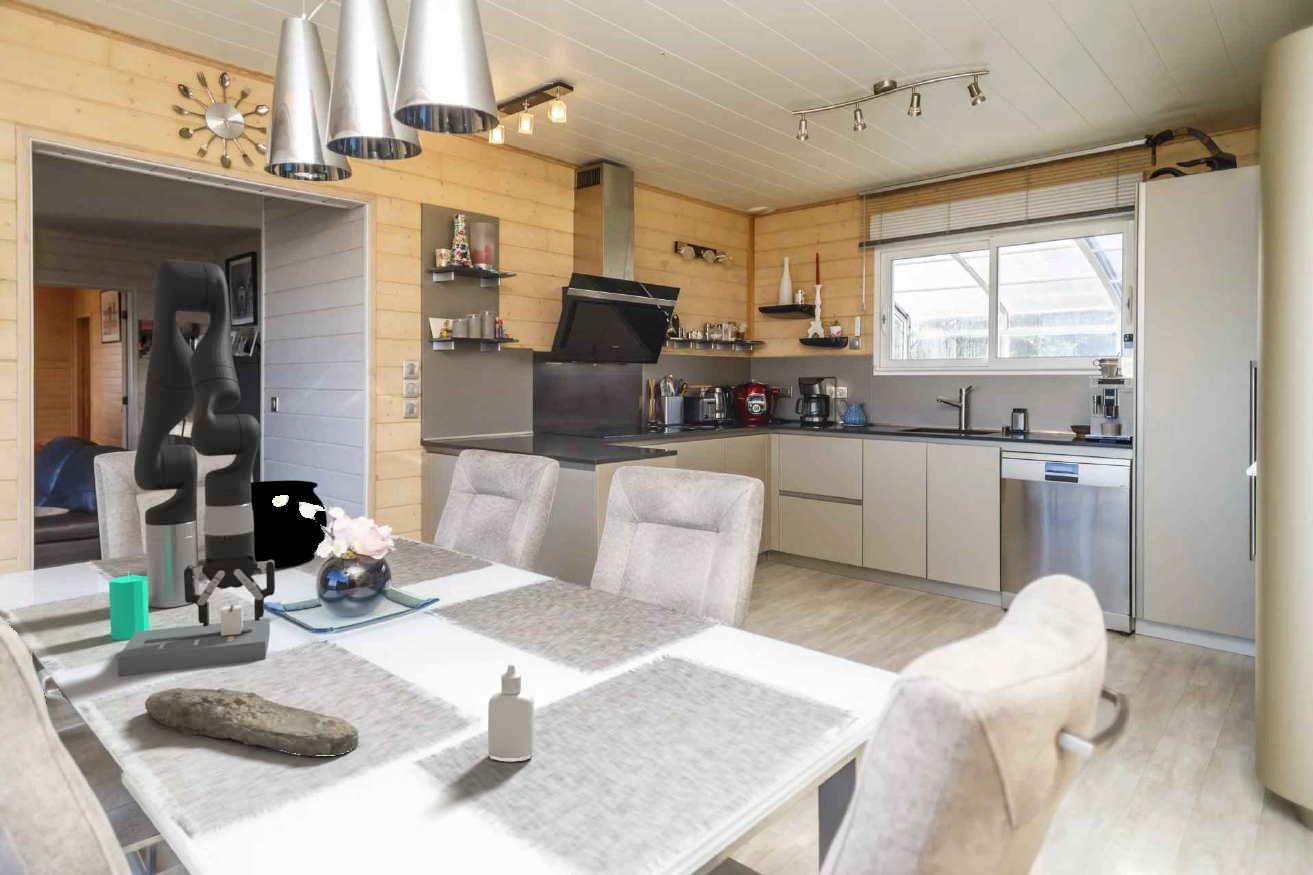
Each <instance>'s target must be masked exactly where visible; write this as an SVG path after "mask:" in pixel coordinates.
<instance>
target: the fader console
mask: <svg viewBox="0 0 1313 875" xmlns="http://www.w3.org/2000/svg"><path fill="white" fill-rule="evenodd" d="M270 628H271V627H270V617H268V618H260V620H259V621H255V619H248V620H243V628H242V632H241V634H233V635H224V636H221V622H218V623H209V625H208V626H203V624H198V625H197V624H196V625H187V626H186V625H185V626H178V627H177V626H176V627H168V628H167V627H166V628H158V629H149V630H146V631H136V632H135V633H134V635H133V636H132V638H131V639H129V641H128V642H127V643H126V645H125V647H124V648H123V650H122V651H121V652H120V653H119V655H118V656H117V673H118V674H117V676H118V677H121V676H122V677H123V676H129V675H130V676H131V675H137V674H145V673H146V674H148V673H155V672H156V673H157V672H164V671H172V670H181V669H190V668H191V669H192V668H199V667H205V666H207V667H208V666H215V665H217V666H218V665H224V664H231V663H241V662H247V661H249V662H250V661H257V660H266V659H267V651H268V646H269V642H270V635H271V633H270Z"/></svg>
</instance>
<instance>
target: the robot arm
mask: <svg viewBox="0 0 1313 875" xmlns="http://www.w3.org/2000/svg"><path fill="white" fill-rule="evenodd" d="M154 277H155V278H154V288H153V290H154V293H153V294H154V295H153V320H152V321H153V324H152V337H151V345H150V352H149V359H148V365H147V371H146V380H145V388H144V389H145V391H144V406H143V407H144V408H143V415H142V416H143V417H142V418H143V419H142V424H141V430H140V434H139V437H138V438H139V439H138V443H137V447H136V454H135V458H134V467H133V470H134V471H133V474H134V475H133V476H134V480H135V483H136V485H137V487H138V488H139V489H141V490H142V491H148V492H149V491H151V492H152V491H166V490H169V491H170V490H176V491H175V493H174V494H173V496H171V497H170V498H168V499H166V500H165V501H163V502H161V503H159V504H157V505H154V506H151V507H149V508H148V509H147V510H146V511H145V513H144V519H145V520H144V524H145V544H146V545H145V547H146V548H145V549H146V550H145V552H146V571H147V572H146V576H147V583H148V607H151V608H158V609H159V608H161V609H162V608H163V609H164V608H176V607H182V606H187V605H191V604H195V605H197V608H198V610H197V611H198V622H199V624H202V625H203V626H208V625H209V624H210V603H209V602H210V601H209V602H208V600H209V598H210V597H211V596H212V594H213V593H214V591H215V590H216V588H217V589H218V588H219V589H220V590H223V589H228V588H235V589H238V588H239V589H240V588H241V587H243V586H244V587H245V589H246V590H247V591H248V592H250V594H251V595H252V596H253V597H254V601H253V603H254V605H253V606H254V620H255V621H259V620H260V619H261V618H263V617H264V615H265V598H267V597H269V596H274V594H275V592H276V591H275V589H276V582H275V579H276V578H275V577H276V576H275V574H276V573H275V571H276V570H275V569H276V568H275V565H274V560H272V559H270V560H268V561H263V562H257V561H256V559H255V556H254V521H253V510H252V504H251V482H252V474H253V469H254V466H255V461H256V457H257V453H258V450H259V447H260V443H261V440H262V428H261V425H260V423H259V422H258V420H257V419H256V417H254V416H253V415H251V414H246V413H240V414H239V413H235V414H216V413H218V412H222V411H226V410H229V409H232V408H234V407H236V406H238V404H239V403H240V401H241V388H240V386H239V381H238V377H237V376H238V375H237V371H236V367H235V362H234V357H233V348H232V347H233V346H232V330H231V329H232V328H231V327H232V326H231V324H232V323H231V313H230V300H229V299H230V298H229V288H228V283H227V279H226V275H225V272H224V271H223V268H221V267H220V266H219V265H217V264H215V263H209V262H202V261H201V262H200V261H194V260H193V261H192V260H185V259H184V260H183V259H182V260H181V259H170V258H167V259H162V260H161V261H160V262H159V264H158V266H157V268H156V272H155V276H154ZM178 312H191V313H192V312H193V313H206V314H209V324H208V326H207V329H206V331H205V333H204V334H203V335H202V338H201V339H200V340H199V342H198V344H197V345H196V347H195V348H194V350H193V349H192V348H191V346H190V345H189V344H188V342H187V341H186V339H185V338H184V336H183V334H182V332H181V330H180V328H179V325H178V324H177V313H178ZM193 410H194V415H193V420H192V421H193V422H192V426H191V433H190V443H191V445H192V446H191V445H190V444H172V445H170V444H169V445H168V444H167V445H163V444H164V442H165V440H166V438H167V436H168V435H169V434H170V433H171V431H172V430H174V429H175V428H176V427H177V426H178V425H179V424H180V423H181V422H182V421H183V420H184V419H186V417H187V416H188V415H189V414H190V413H191V412H192V411H193ZM197 453H198V454H199V455H201V456H204V457H217V456H235V457H234V458H233V461H232V462H231V463H230V464H229V465H227V466H224V467H221V468H217V469H212V470H211V471H208V472H206V474H205V475H204V476H205V477H204V504H205V506H204V516H203V517H204V518H203V531H204V532H203V534H204V559H205V560H204V564H203V565H199V543H198V541H199V540H198V515H197V514H198V513H197V512H198V474H199V473H198V469H199V468H198V467H199V466H198V457H197ZM257 569H260V570H261V573H262V574H264V575H266V576H265V577H266V581H265V582H266V587H265V588H263V589H262V588H261V587H260V586H259V584H258V583H257V581H256V580H255V579H254V578H253V574H255V572H256V570H257ZM201 573H202V574H203V575H204V576H205V577H206V578H207V579H208V581H209V583H208V584H207V585H206V587H205V588H204V590H203V591H202V593H201V594H200V574H201Z"/></svg>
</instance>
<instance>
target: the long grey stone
mask: <svg viewBox="0 0 1313 875" xmlns="http://www.w3.org/2000/svg"><path fill="white" fill-rule="evenodd" d="M144 705H145V706H144V707H145V710H146V717H147V718H148V720H153V719H154V720H156V721H157V722H158V723H160V725H164V726H165V727H166V728H171V729H172V728H173V729H175V730H180V732H182V735H194V736H199V735H200V736H201V735H202V736H206V737H209V738H212V739H213V738H216V739H217V738H218V739H219V740H223V739H226V740H227V739H232V740H233V741H234V740H235V741H237V742H242V743H243V744H244V746H260V747H264V748H268V749H272V750H274V749H276V750H275V751H277V750H283V751H286V752H289V753H288V754H290V753H296V754H300V755H299V756H301V755H305V756H308V755H309V756H313V757H317V756H316V755H339V754H341V753H345V752H347V751H350V750H351V749H354V748H355V747H356V748H357V747H358V745H359V731H358V730H357V728H356V727H355V726H354V725H352V724H351V723H349V722H348V721H347V720H345V719H343V718H340V717H337V716H328V715H325V714H323V713H318V712H315V711H312V710H307V709H303V708H297V707H291V706H287V705H286V706H285V705H282V704H279V703H278V702H275V701H271V700H267V699H265V698H263V696H260V695H258V694H256V693H255V692H247V691H246V692H245V691H238V690H237V691H236V690H229V689H226V688H223V687H222V688H218V689H213V688H182V687H175V688H170V689H165V690H161V691H158V692H155V693H152V694H151V695H149V696H148V698H147V699H146V700H145V702H144ZM356 748H355V749H356ZM355 749H354V750H355ZM350 752H351V751H350ZM309 756H308V757H309Z"/></svg>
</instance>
